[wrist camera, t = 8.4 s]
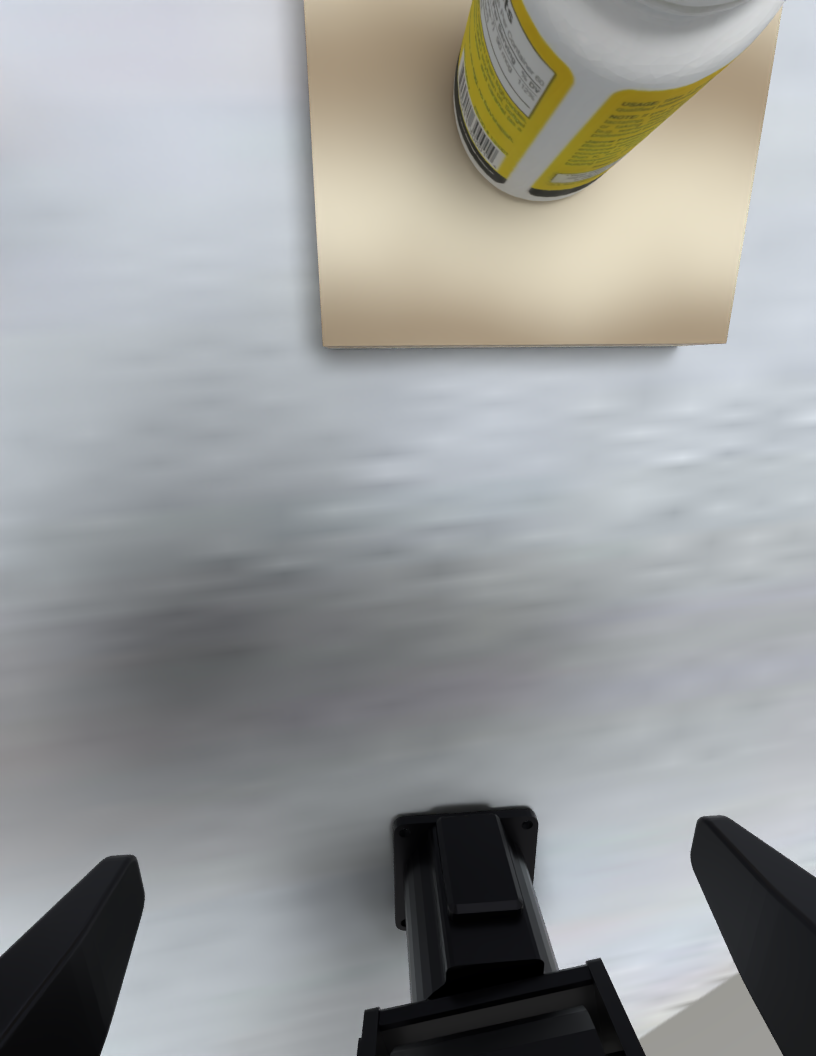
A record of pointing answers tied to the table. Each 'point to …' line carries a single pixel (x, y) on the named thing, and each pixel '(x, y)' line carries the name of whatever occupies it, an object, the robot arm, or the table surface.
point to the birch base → (513, 203)
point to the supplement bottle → (585, 81)
